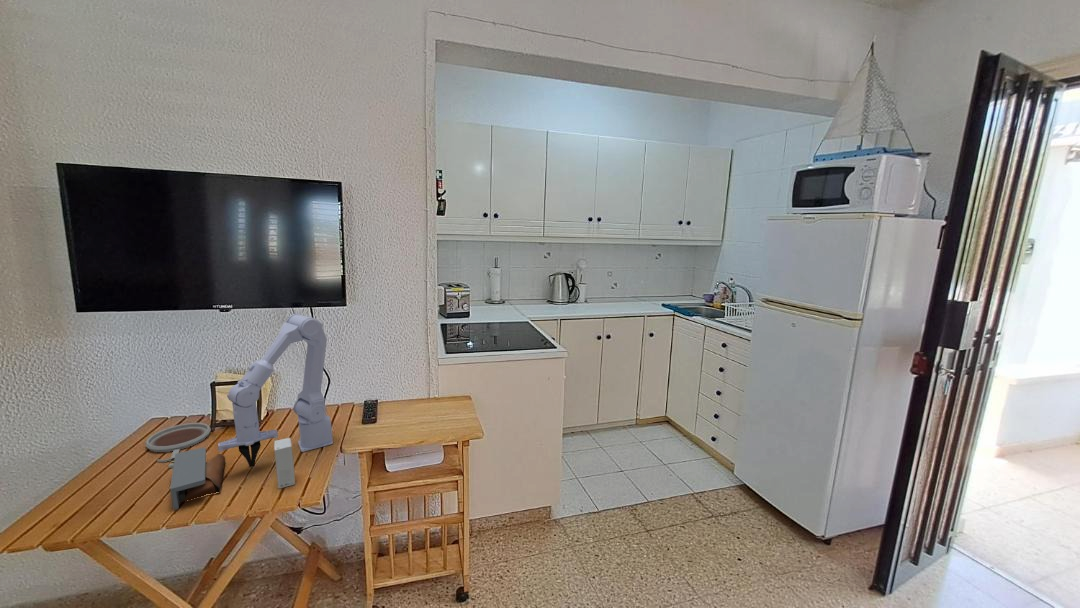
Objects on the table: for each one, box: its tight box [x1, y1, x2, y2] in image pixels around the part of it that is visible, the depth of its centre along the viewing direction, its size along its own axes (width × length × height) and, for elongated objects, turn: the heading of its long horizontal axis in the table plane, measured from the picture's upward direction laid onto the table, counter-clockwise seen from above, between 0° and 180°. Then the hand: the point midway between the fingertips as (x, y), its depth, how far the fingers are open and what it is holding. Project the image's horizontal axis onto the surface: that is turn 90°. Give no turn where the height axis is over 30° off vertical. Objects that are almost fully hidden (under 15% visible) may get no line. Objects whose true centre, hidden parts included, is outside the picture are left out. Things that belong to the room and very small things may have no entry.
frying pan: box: [144, 422, 212, 469], centre depth 140 cm, size 17×3×28 cm
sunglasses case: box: [182, 453, 226, 503], centre depth 123 cm, size 18×7×7 cm, turn 33°
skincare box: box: [273, 437, 296, 490], centre depth 123 cm, size 6×4×12 cm
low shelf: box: [169, 446, 207, 511], centre depth 120 cm, size 7×20×6 cm, turn 37°
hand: (252, 465), depth 129 cm, fingers closed
